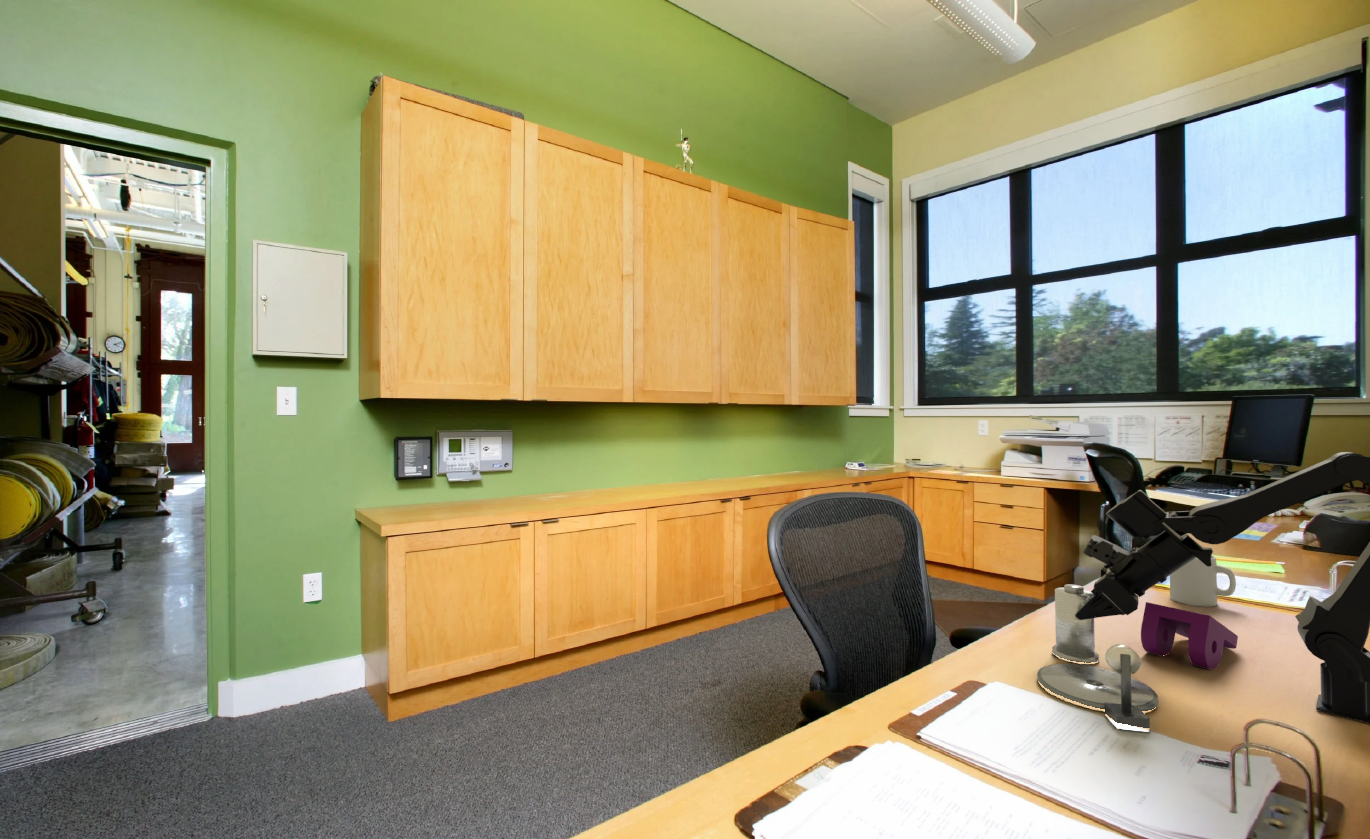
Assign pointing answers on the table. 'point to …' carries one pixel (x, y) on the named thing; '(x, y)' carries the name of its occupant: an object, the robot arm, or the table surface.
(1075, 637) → the silver metal cylinder
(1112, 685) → the disc
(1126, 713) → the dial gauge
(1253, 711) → the table surface
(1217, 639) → the mounting bracket
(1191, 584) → the mug
